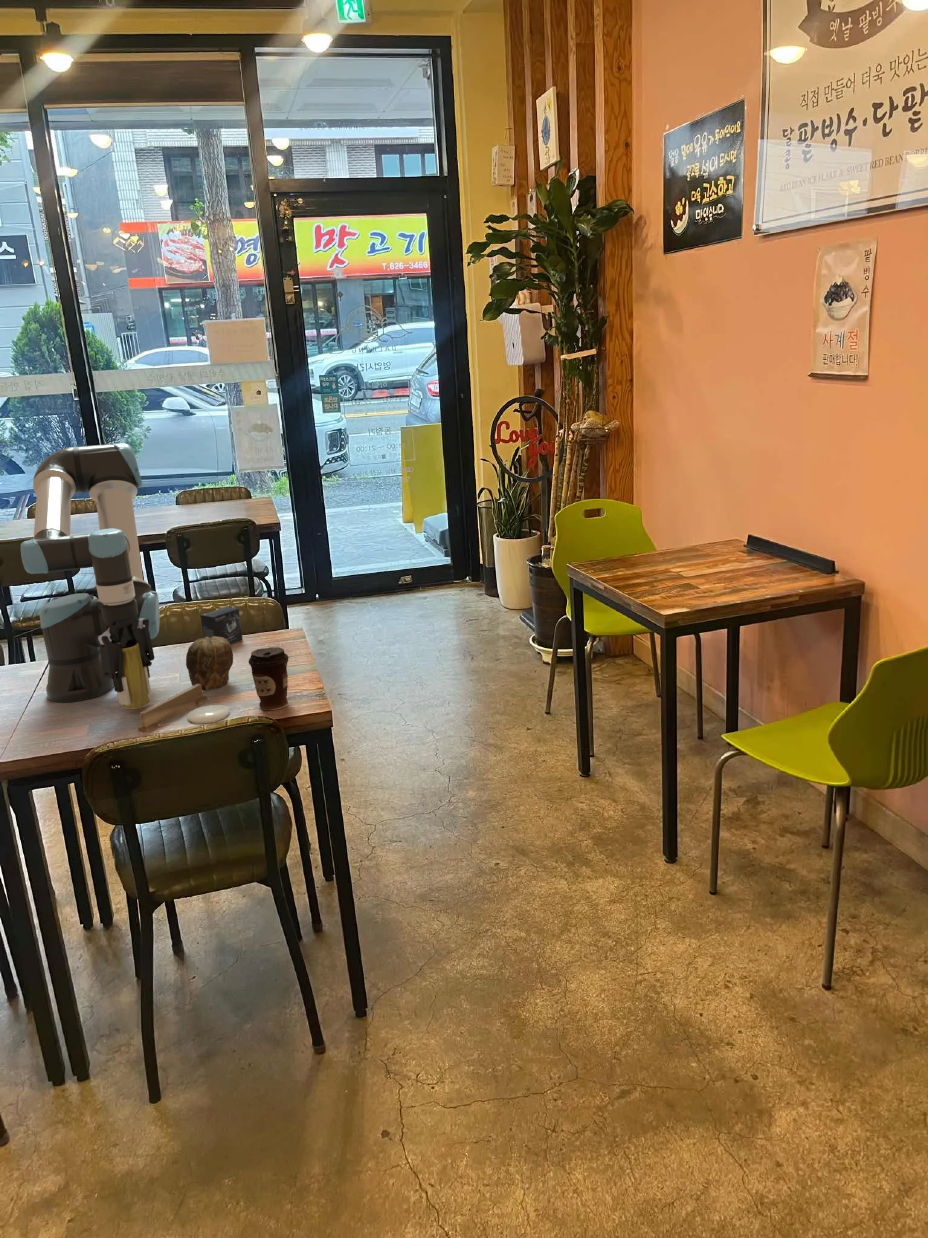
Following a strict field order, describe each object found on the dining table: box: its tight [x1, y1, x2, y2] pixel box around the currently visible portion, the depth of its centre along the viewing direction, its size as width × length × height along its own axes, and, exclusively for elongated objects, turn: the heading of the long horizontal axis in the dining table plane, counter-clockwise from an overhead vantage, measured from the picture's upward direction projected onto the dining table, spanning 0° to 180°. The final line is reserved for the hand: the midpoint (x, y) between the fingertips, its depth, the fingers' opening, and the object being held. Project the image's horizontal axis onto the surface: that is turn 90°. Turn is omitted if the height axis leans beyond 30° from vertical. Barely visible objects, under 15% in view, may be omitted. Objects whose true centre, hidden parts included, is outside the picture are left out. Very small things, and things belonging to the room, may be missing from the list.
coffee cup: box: [248, 646, 290, 711], centre depth 199 cm, size 9×8×13 cm
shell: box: [185, 636, 234, 692], centre depth 215 cm, size 11×11×12 cm
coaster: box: [186, 704, 230, 725], centre depth 198 cm, size 9×9×1 cm
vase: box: [119, 642, 151, 710], centre depth 201 cm, size 6×6×14 cm
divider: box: [137, 684, 209, 733], centre depth 199 cm, size 3×19×4 cm, turn 155°
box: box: [199, 606, 243, 646], centre depth 246 cm, size 9×6×10 cm, turn 147°
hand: (135, 698), depth 202 cm, fingers closed on vase, 6 cm apart
